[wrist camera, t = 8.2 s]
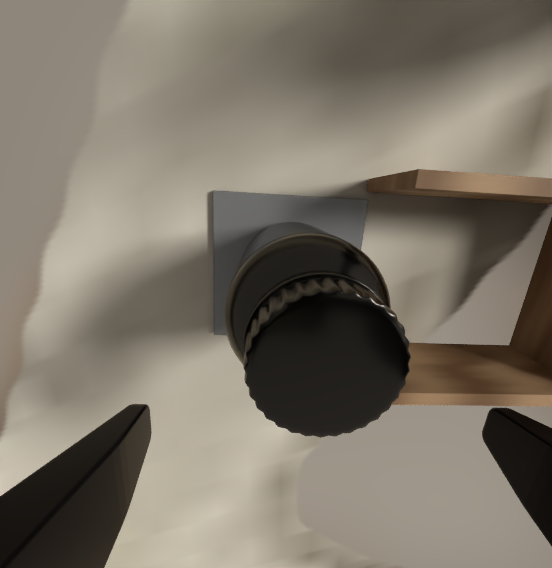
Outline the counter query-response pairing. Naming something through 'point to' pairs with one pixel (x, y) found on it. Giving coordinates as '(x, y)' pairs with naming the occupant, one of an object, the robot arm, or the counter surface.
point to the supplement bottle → (315, 331)
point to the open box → (530, 326)
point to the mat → (262, 214)
